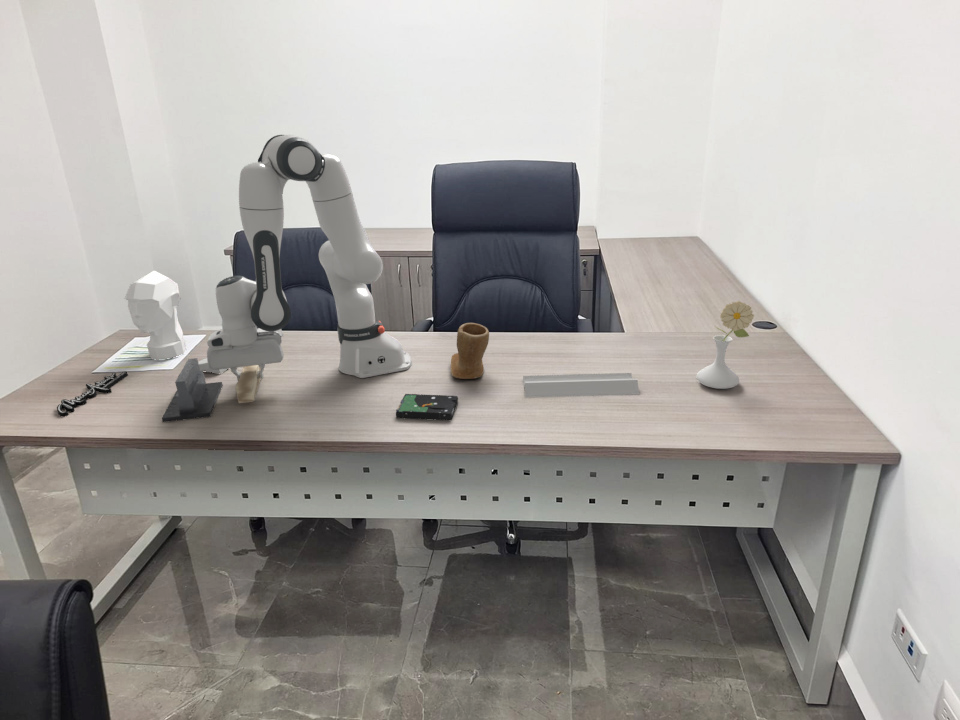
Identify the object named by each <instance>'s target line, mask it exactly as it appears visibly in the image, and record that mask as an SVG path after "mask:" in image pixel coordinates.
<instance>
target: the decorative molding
mask: <svg viewBox="0 0 960 720" xmlns="http://www.w3.org/2000/svg"><path fill="white" fill-rule="evenodd" d="M257 332H269V331H265V330H262V329H260V328H258V327H257ZM274 332H277V333H279V334H280V336H281V338H282V337H283V336H284V333H283V330H282V329H280V330H277V331H274ZM198 364H199V369H200V371H206V372H207V373H211V372H212V374H213V373H220V374H219V375H222V374H223V373H222V372H224V371H225V372H227V371H228V370H227V369H229V368H227V369H219V370H212V369H210V368H209V366H208V361H207V356H206V357H205V358H203V359H201V360H199V361H198ZM226 370H227V371H226ZM229 370H230V369H229ZM206 372H205V373H206ZM225 372H224V373H225ZM221 373H222V374H221Z"/></svg>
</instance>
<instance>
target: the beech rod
mask: <svg viewBox="0 0 960 720" xmlns="http://www.w3.org/2000/svg"><path fill="white" fill-rule="evenodd" d="M260 370H261V368H259V365H253V366H245V367H242V371H241V372H240V373H241V375H240V378H239V380H237V383H236V386H235V391H236V392H235V393H236V397H237V403H238V404H243V403H244V404H245V403H252V402H255V399H256V395H257V394H258V389H259V387H260V382H261V380H262V378H261V379H257V374H256V373H257V371H260ZM263 371H265V368H264V369H263Z"/></svg>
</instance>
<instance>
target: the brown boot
mask: <svg viewBox="0 0 960 720" xmlns="http://www.w3.org/2000/svg"><path fill="white" fill-rule="evenodd" d="M489 341H490V331H489V328H488V327H486V326H485V325H482V324H480V323H475V322H466V323H463V324H461V325H460V326H459V328H458V329H457V334H456V349H457V352H456V353H454V354H452V355H451V359H450V373H451V375H452V377H453V378H455V379H459V380H461V379H462V380H471V379H472V380H474V379H478V378H481V377H482V376H483V373H484V371H485V369H484V363H483V357H484V355H485V352H486V350H487V348H488V345H489Z"/></svg>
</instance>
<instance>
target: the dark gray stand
mask: <svg viewBox="0 0 960 720" xmlns="http://www.w3.org/2000/svg"><path fill="white" fill-rule="evenodd" d="M198 362H199V361H198V358H196V357H195V358H188V359H187V360H186V362H185V364H184V365H183V367H182V369H181V371H180V373H179V374H178V377H177V378H176V380H175V382H174V383H175V387H176V391H175V393H174V395H173V396H172V399H171V401H170V402H169V404H168V406H167V408H166V410H165V411H164V413H163V416H162V417H161V421H162V423H167V422H176V420H177V421H184V420H183V419H186V420H192V419H201V418H202V417H203V418H210V417H211V416H212V413H213V412H214V409H215V406H216V403H217V402H218V398H219V397H220V394H221V390H222V389H223V385H224V384H223V382H222V381H217V382H209V383H207V382H206V378H205V375H204V374H205V372H204V373H203V371H200V369H199V364H198ZM221 388H222V389H221ZM209 416H210V417H209Z"/></svg>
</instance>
